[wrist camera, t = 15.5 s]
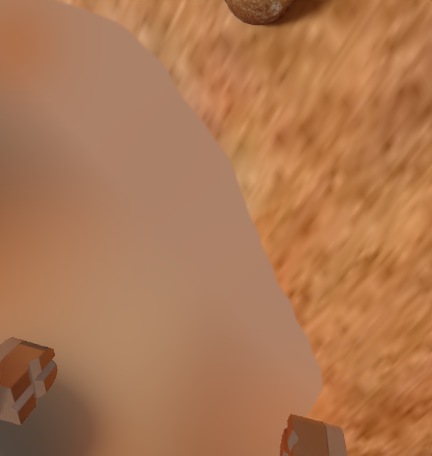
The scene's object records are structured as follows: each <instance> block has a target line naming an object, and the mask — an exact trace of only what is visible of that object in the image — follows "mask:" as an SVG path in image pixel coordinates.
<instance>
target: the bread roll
mask: <svg viewBox="0 0 432 456" xmlns="http://www.w3.org/2000/svg"><path fill="white" fill-rule="evenodd" d="M225 1H226V3H227V5H228V8H229V9H230V11H231V12H232V13H233V14H234V15H235V16H236V17H237V18H238V19H240V20H241V21H242V22H245V23H248V24H251V25H264V24H269V23H271V22H274V21H276V20H278V19H279V18H281V17H283V15H284V14H285V13H286V12H287V11H289V9H290V7H291V6H292V5H293V4H294V2H295V0H225Z"/></svg>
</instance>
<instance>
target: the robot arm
mask: <svg viewBox="0 0 432 456" xmlns="http://www.w3.org/2000/svg"><path fill="white" fill-rule="evenodd" d="M54 356H55V353H54V349H51V348H48V347H45V346H41V345H38V344H34V343H31V342H27V341H24V340H21V339H17V338H14V337H11V338H10V339H7V340H5V341H4V342H3V343H2V344H1V345H0V419H1V420H4V421H8V422H11V423H15V424H19V425H21V424H22V423H23V422H24V421H25V419H26V418H27V417H28V416H29V414H30V413H31V412H32V410H33V409H34V408H35V407H36V404H37V398H38V397H40V396H42V395H44V394H46V392H47V391H48V390H49V388H50V387H51V386H52V384H53V382H54V380H55V378H56V375H57V365H56V363H55V362H54V361H53V360H52V359H53V357H54ZM287 421H288V422H287V425H288V426H287V428H286V429H284V432H283V435H282V439H281V445H280V456H347V451H346V445H345V439H344V434H343V431H342V429H341V428H340V427H338V426H334V425H330V424H326V423H323V422H321V421H317V420H313V419H309V418H305V417H301V416H297V415H293V414H291V415H289V418H288V420H287Z"/></svg>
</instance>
